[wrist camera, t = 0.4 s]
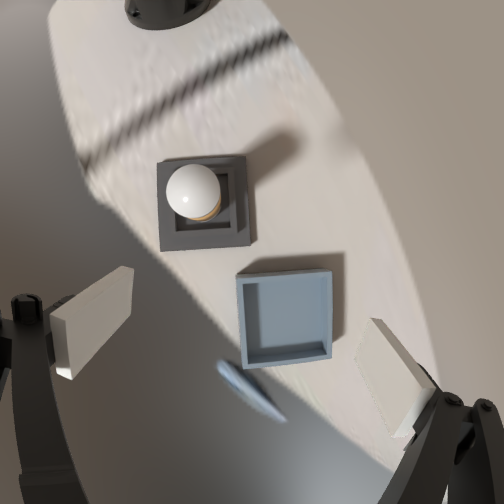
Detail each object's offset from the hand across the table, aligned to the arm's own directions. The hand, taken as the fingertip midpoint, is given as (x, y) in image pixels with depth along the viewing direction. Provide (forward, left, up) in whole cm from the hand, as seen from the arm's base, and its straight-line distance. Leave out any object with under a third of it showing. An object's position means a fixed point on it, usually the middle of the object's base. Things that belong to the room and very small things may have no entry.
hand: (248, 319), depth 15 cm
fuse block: (-9, -4, -25) cm, 27 cm away
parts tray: (+7, +6, -25) cm, 27 cm away
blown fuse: (-9, -4, -24) cm, 26 cm away
